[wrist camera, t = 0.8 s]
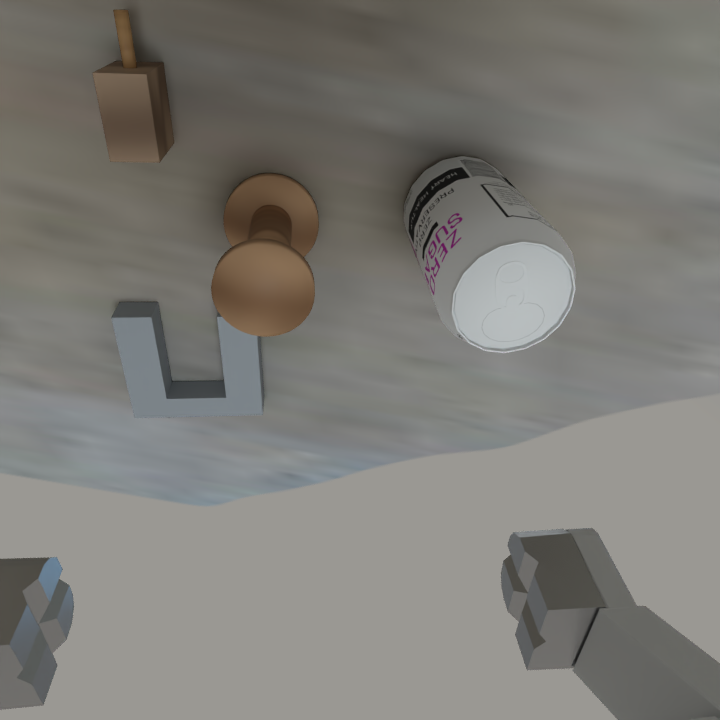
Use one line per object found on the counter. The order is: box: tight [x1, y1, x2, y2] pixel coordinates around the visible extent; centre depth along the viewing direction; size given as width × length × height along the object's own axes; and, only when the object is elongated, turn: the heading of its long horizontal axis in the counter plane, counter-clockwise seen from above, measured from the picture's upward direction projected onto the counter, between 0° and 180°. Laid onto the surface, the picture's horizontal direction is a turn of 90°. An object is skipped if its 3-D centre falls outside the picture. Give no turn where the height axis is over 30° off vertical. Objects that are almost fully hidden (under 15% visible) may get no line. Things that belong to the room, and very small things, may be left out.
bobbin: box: [211, 173, 319, 337], centre depth 39 cm, size 7×7×12 cm
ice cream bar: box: [93, 10, 174, 163], centre depth 36 cm, size 8×3×5 cm, turn 178°
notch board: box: [111, 302, 264, 418], centre depth 49 cm, size 10×11×2 cm
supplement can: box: [404, 156, 576, 353], centre depth 39 cm, size 8×8×15 cm
